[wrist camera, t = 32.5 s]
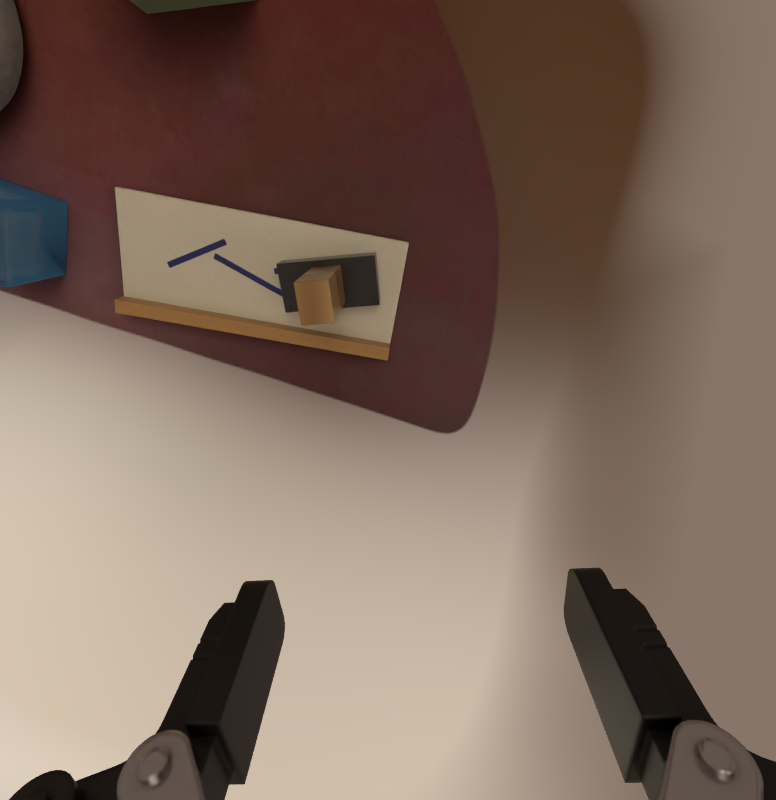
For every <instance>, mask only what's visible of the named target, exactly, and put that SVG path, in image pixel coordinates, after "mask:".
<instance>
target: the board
mask: <svg viewBox="0 0 776 800" xmlns="http://www.w3.org/2000/svg"><path fill="white" fill-rule="evenodd" d="M115 195H116V207H117V219H118V230H119V242H120V254H121V265H122V277H123V289H124V296H123V297H120V298H117V299H115V310H116V313H120V314H126V315H132V316H137V317H143V318H149V319H154V320H160V321H166V322H171V323H177V324H183V325H188V326H194V327H200V328H205V329H211V330H217V331H222V332H228V333H234V334H239V335H245V336H251V337H256V338H262V339H268V340H273V341H279V342H285V343H290V344H296V345H302V346H307V347H313V348H319V349H324V350H330V351H336V352H341V353H347V354H353V355H358V356H364V357H370V358H375V359H381V360H388V356H389V350H390V342H391V337H392V331H393V326H394V321H395V315H396V310H397V305H398V299H399V294H400V289H401V283H402V278H403V272H404V267H405V262H406V256H407V251H408V246H409V242H406V241H401V240H395V239H390V238H385V237H380V236H374V235H369V234H364V233H359V232H353V231H348V230H343V229H338V228H333V227H327V226H322V225H317V224H312V223H306V222H301V221H296V220H291V219H285V218H280V217H275V216H270V215H264V214H259V213H254V212H249V211H243V210H238V209H233V208H228V207H222V206H217V205H212V204H207V203H201V202H196V201H191V200H186V199H180V198H175V197H170V196H165V195H160V194H154V193H149V192H144V191H139V190H133V189H128V188H123V187H115ZM371 252H376V256H377V267H378V277H379V288H380V298H381V300H380V305H374V306H362V307H350V308H342V309H341V311H340V313H339V315H338V317H337V319H336V321H335V323H329V324H317V325H304V326H302V325H301V322H300V317H299V312H289V313H286V312H285V307H284V302H283V297H282V292H281V287H280V281H279V276H278V271H277V266H276V264H277V263H279V262H281V261H282V260H292V259H304V258H315V257H326V256H337V255H348V254H359V253H371Z"/></svg>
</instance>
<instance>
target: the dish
mask: <svg viewBox="0 0 776 800" xmlns="http://www.w3.org/2000/svg"><path fill="white" fill-rule="evenodd" d="M22 63H23V39H22V32H21V26H20V22H19V17H18V13H17V9H16V6H15V2H14V0H0V111H1V110H2V109H3V108H4V107H5V106H6V105H7V104H8V103H9V102H10V100H11V99H12V97H13V95H14V93H15V91H16V89H17V86H18V83H19V80H20V76H21V71H22Z"/></svg>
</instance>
